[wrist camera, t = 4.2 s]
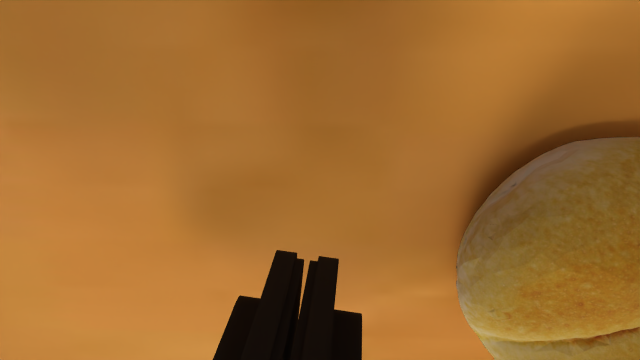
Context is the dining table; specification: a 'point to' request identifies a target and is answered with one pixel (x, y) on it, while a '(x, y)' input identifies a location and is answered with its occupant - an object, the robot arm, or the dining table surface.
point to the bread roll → (558, 257)
